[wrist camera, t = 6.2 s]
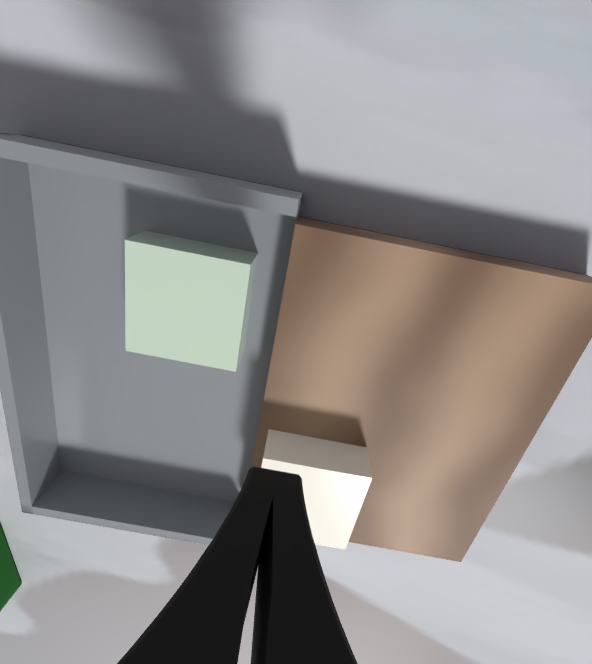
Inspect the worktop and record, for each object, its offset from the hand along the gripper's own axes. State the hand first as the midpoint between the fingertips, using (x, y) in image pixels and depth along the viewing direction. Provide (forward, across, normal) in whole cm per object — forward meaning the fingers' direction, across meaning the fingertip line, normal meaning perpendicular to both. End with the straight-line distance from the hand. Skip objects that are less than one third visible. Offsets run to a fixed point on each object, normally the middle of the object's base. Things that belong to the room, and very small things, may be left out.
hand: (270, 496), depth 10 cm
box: (+10, +7, +2) cm, 12 cm away
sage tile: (+9, +5, -2) cm, 10 cm away
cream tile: (+8, -2, +7) cm, 10 cm away
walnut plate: (+10, -6, +3) cm, 11 cm away
